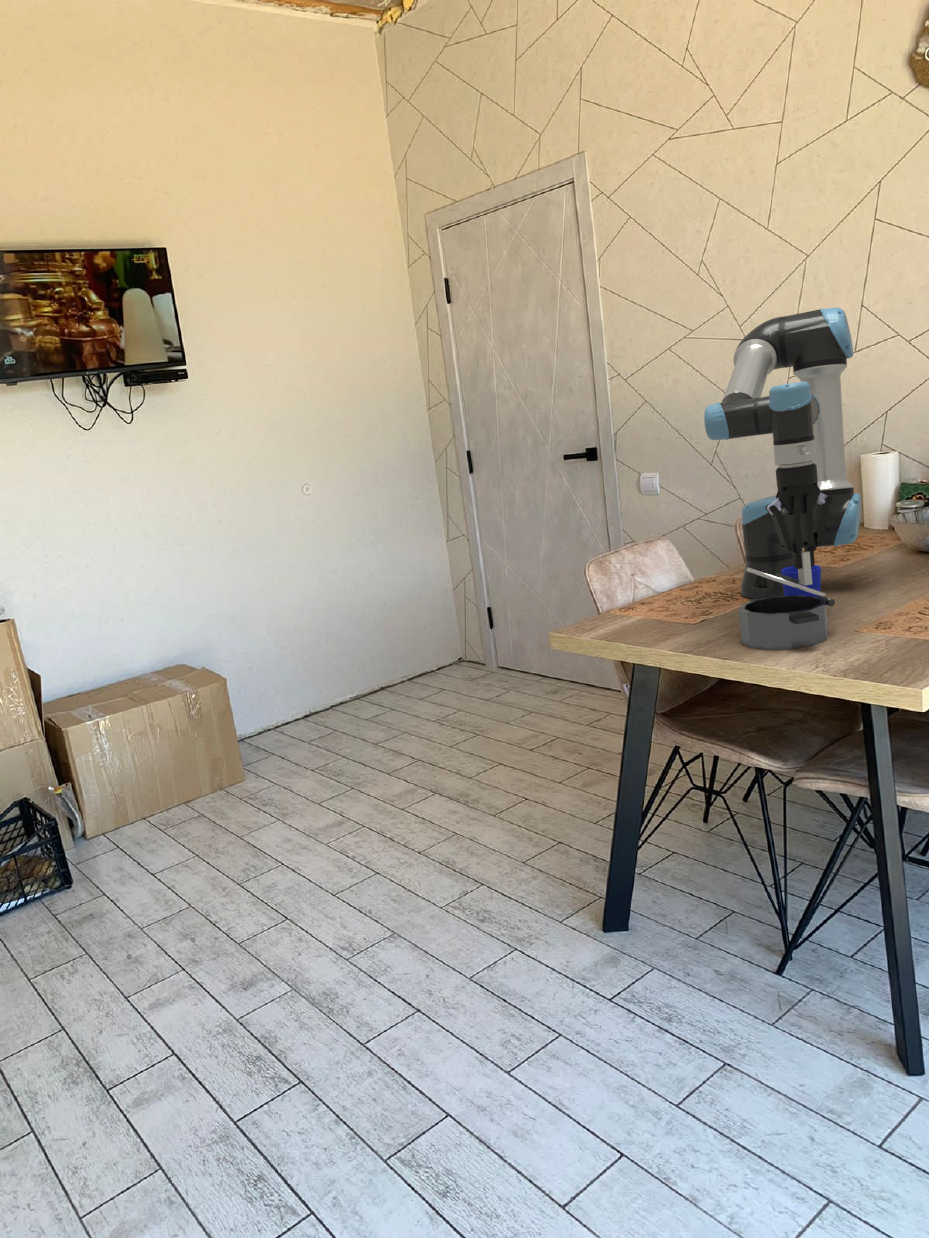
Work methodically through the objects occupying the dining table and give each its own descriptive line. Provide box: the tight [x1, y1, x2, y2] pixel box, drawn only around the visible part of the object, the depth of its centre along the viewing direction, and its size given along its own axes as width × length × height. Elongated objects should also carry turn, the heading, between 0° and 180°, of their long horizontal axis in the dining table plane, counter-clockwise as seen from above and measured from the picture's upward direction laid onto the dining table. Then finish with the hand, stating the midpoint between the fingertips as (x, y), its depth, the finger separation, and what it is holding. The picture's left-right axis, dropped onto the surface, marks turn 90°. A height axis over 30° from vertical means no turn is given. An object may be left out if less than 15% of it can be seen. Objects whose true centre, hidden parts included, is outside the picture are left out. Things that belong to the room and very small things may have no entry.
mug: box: [781, 564, 822, 597], centre depth 205 cm, size 8×12×10 cm
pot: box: [738, 595, 836, 651], centre depth 186 cm, size 22×18×7 cm
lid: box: [746, 567, 827, 597], centre depth 185 cm, size 16×16×2 cm
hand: (805, 583), depth 185 cm, fingers closed
